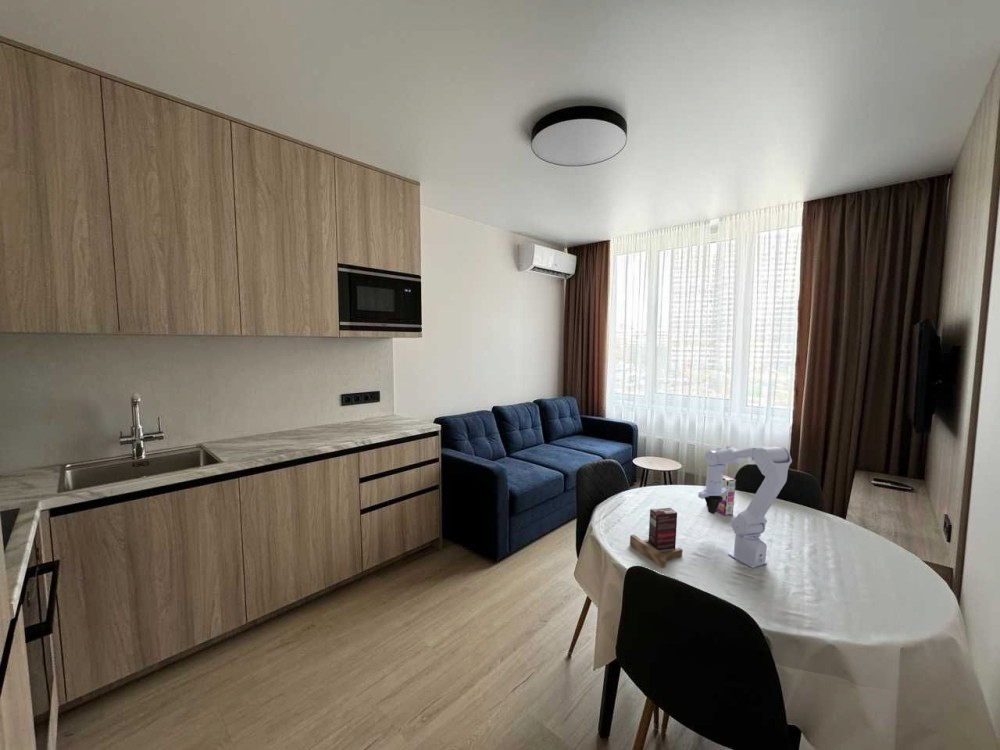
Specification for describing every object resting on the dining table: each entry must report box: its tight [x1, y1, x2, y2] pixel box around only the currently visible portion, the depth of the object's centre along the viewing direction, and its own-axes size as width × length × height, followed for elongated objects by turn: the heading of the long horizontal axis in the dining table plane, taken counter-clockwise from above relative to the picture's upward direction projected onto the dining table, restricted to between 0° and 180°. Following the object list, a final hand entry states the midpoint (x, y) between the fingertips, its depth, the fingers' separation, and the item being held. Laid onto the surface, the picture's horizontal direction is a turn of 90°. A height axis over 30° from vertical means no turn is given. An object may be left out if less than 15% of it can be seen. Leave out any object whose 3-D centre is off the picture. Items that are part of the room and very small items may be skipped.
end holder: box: [629, 534, 683, 568], centre depth 151 cm, size 16×13×4 cm
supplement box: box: [648, 507, 678, 553], centre depth 151 cm, size 9×5×16 cm, turn 102°
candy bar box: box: [705, 474, 737, 516], centre depth 189 cm, size 11×5×16 cm, turn 17°
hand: (711, 512), depth 165 cm, fingers closed
